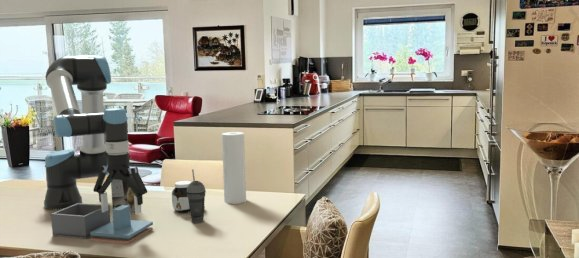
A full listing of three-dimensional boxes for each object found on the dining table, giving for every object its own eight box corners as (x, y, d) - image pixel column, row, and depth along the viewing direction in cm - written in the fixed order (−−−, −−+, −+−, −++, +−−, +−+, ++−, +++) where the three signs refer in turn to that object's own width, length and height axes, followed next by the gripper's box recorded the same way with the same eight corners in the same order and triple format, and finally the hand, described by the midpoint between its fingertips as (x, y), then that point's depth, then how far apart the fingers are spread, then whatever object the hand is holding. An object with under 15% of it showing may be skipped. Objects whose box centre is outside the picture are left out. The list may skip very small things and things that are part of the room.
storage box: (52, 235, 183) (50, 213, 181) (79, 223, 196) (77, 203, 195) (86, 238, 178) (84, 216, 177) (110, 226, 192) (109, 205, 191)
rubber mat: (91, 240, 177) (91, 238, 177) (119, 226, 192) (119, 224, 192) (126, 243, 173) (126, 242, 173) (152, 228, 188) (152, 227, 188)
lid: (90, 238, 177) (88, 212, 176) (116, 224, 192) (115, 200, 190) (129, 241, 173) (127, 215, 172) (153, 227, 187) (151, 203, 186)
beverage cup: (198, 225, 191) (195, 172, 188) (183, 222, 195) (181, 170, 192) (211, 219, 197) (208, 168, 194) (196, 217, 201) (194, 166, 198)
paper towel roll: (220, 202, 221) (217, 133, 217) (230, 197, 229) (228, 130, 226) (239, 204, 217) (237, 134, 213) (249, 198, 226) (247, 131, 222)
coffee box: (127, 215, 206) (124, 175, 203) (112, 214, 207) (109, 175, 205) (138, 208, 214) (135, 170, 212) (123, 208, 216) (121, 170, 214)
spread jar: (169, 210, 211) (168, 182, 209) (192, 204, 219) (190, 177, 218) (187, 216, 203) (185, 187, 201) (209, 209, 211) (208, 181, 210)
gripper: (80, 153, 178) (84, 213, 181) (143, 156, 171) (146, 218, 174) (94, 150, 186) (98, 207, 188) (155, 152, 178) (158, 211, 181)
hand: (121, 212), depth 181 cm, fingers open, 13 cm apart
